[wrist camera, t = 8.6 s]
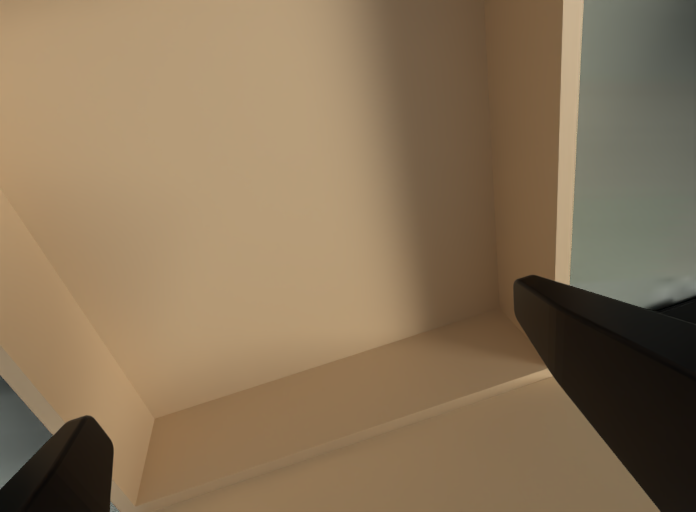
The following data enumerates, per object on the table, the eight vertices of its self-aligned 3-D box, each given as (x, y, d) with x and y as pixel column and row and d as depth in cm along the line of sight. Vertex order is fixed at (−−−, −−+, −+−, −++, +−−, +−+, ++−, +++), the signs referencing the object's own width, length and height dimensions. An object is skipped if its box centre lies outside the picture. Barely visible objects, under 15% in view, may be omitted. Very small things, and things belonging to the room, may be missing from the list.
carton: (505, 307, 23) (565, 372, 19) (150, 420, 22) (127, 519, 17) (484, -170, 14) (596, -258, 9) (-152, -22, 12) (-369, -46, 8)
